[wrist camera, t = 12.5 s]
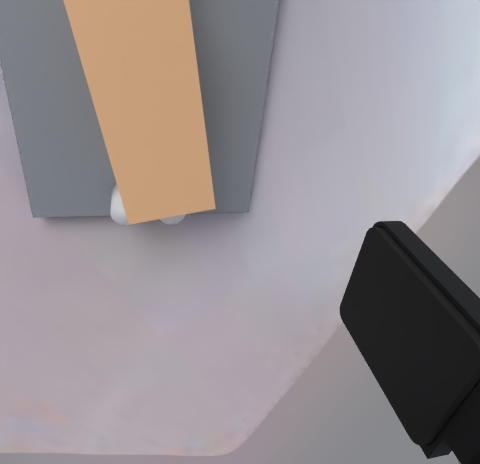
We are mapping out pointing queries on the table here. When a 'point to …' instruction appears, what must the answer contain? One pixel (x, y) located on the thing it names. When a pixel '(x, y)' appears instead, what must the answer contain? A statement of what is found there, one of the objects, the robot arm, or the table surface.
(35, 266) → the table surface
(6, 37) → the base plate
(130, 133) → the block
